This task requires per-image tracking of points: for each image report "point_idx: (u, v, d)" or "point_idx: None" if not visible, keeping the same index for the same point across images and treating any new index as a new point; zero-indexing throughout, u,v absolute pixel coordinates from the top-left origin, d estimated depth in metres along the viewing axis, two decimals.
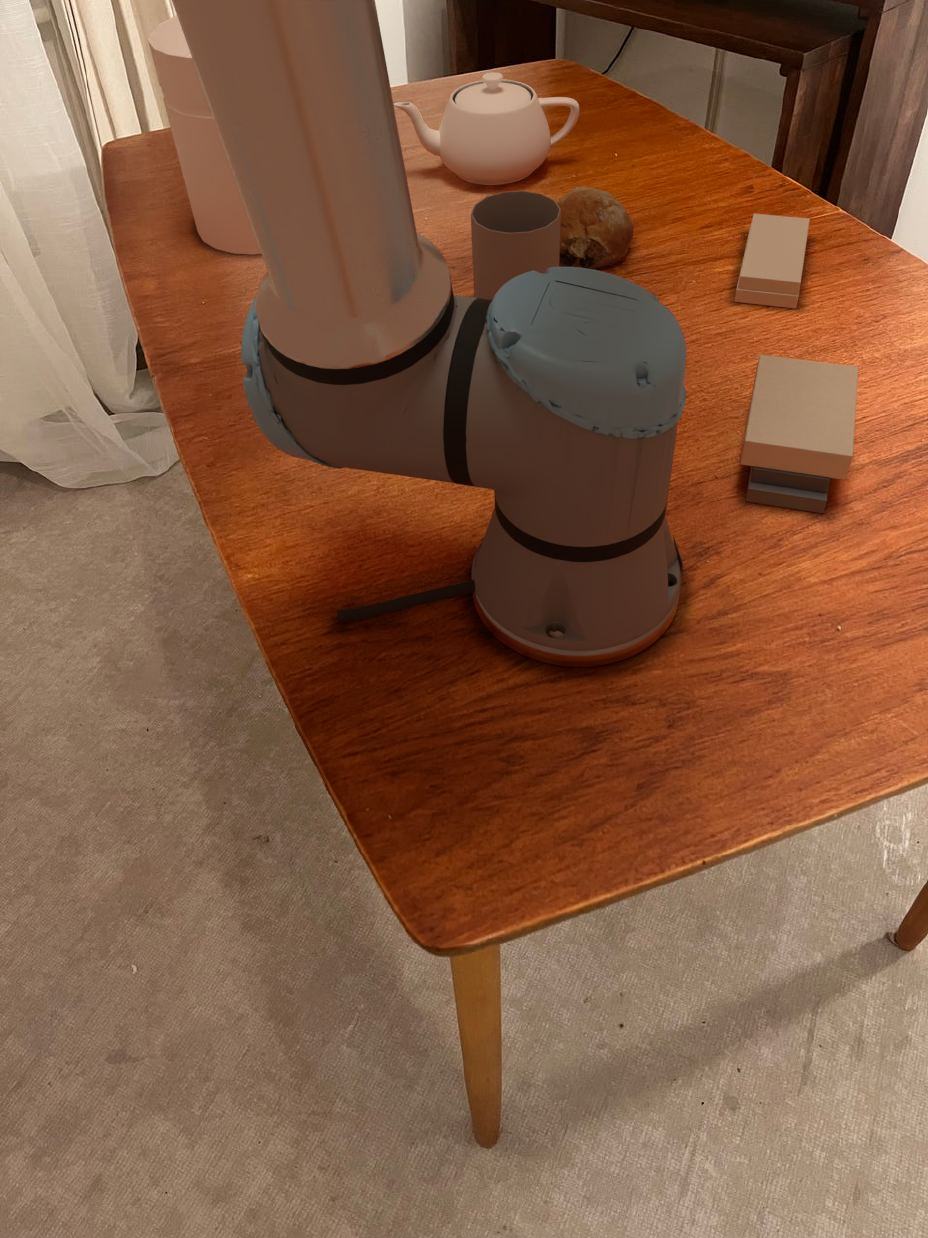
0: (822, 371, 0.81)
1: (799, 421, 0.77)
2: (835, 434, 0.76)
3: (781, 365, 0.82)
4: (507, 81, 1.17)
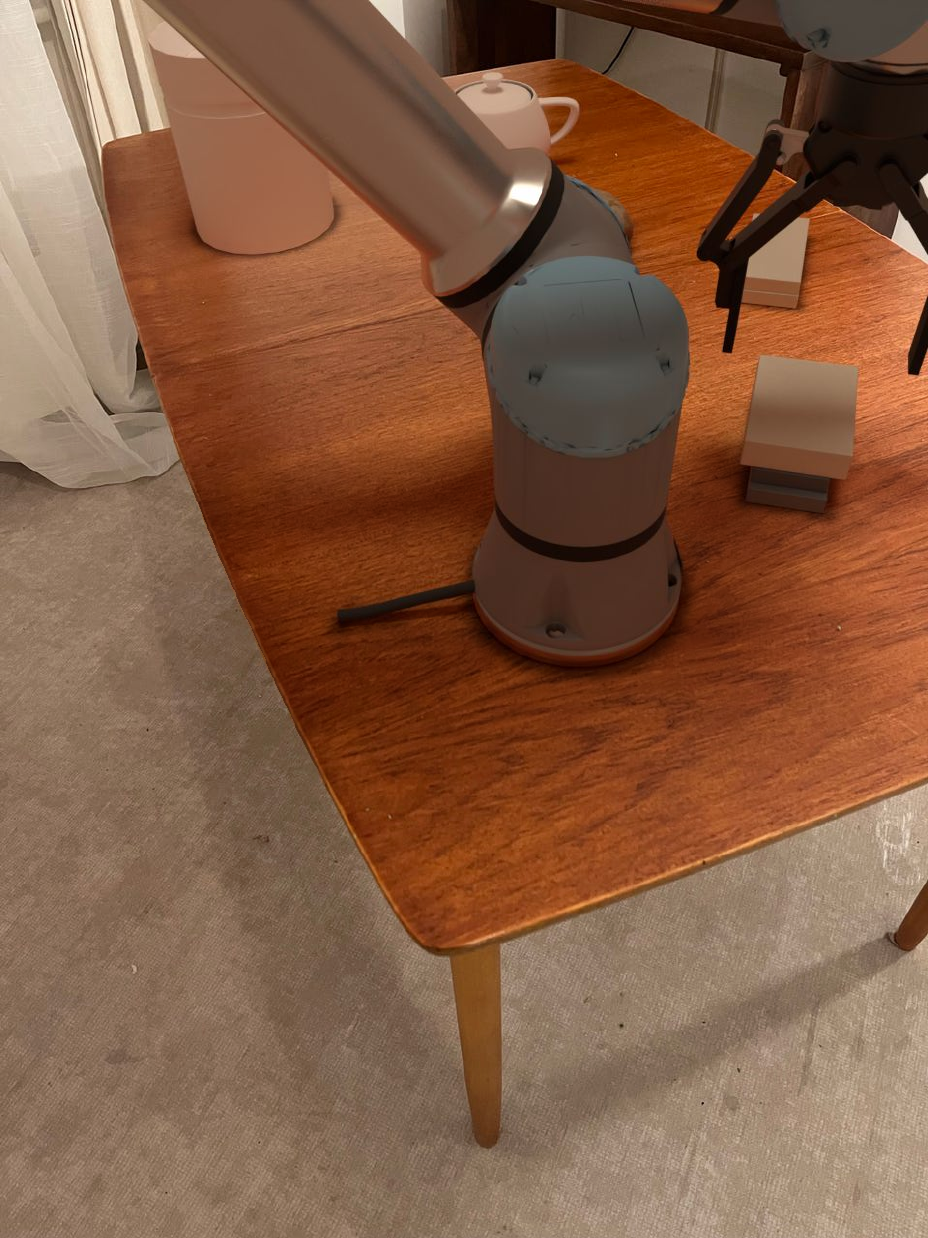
0: (822, 371, 0.81)
1: (799, 421, 0.77)
2: (835, 434, 0.76)
3: (781, 365, 0.82)
4: (507, 81, 1.17)
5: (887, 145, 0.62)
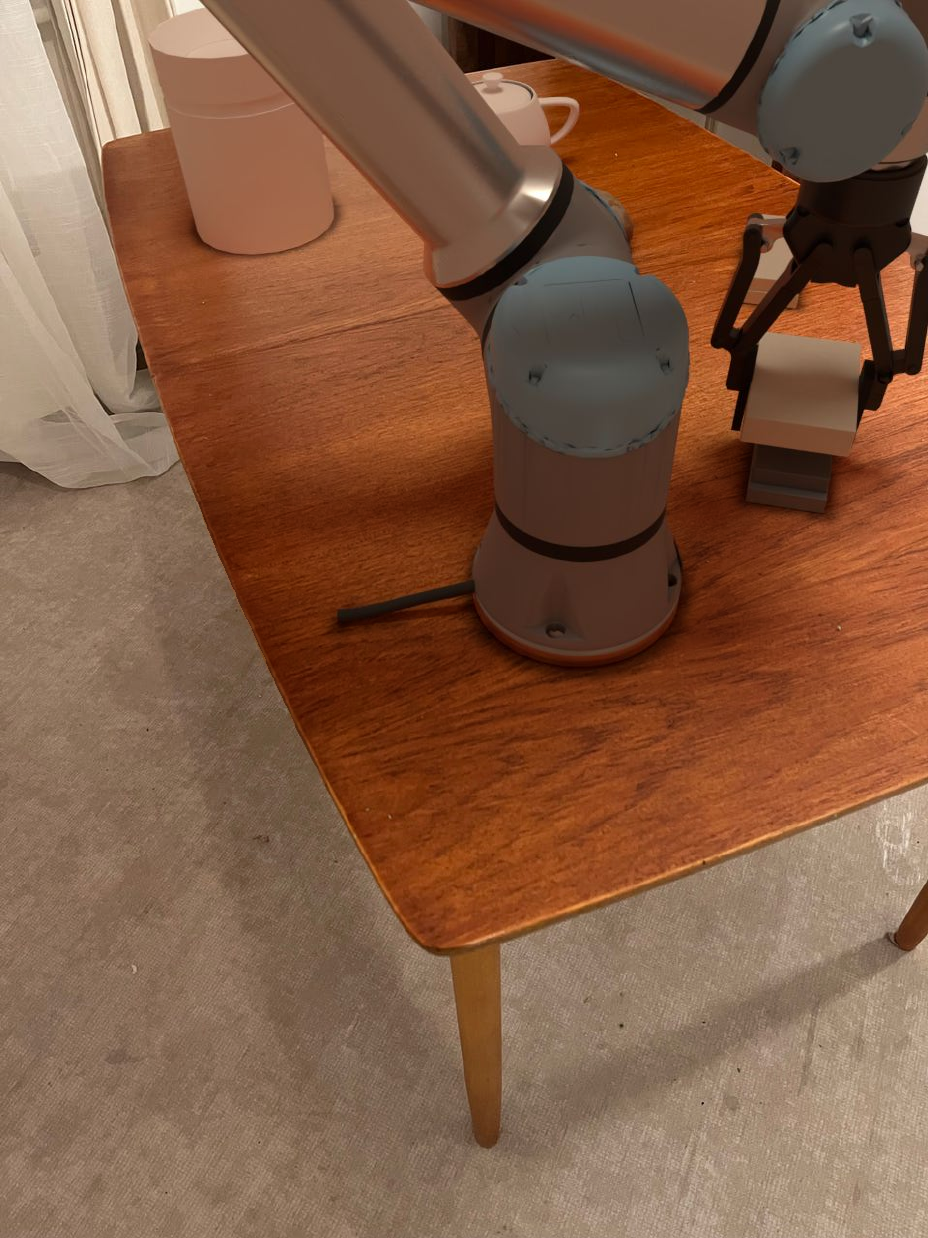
0: (824, 348, 0.79)
1: (801, 397, 0.75)
2: (838, 410, 0.74)
3: (782, 342, 0.80)
4: (507, 81, 1.17)
5: None
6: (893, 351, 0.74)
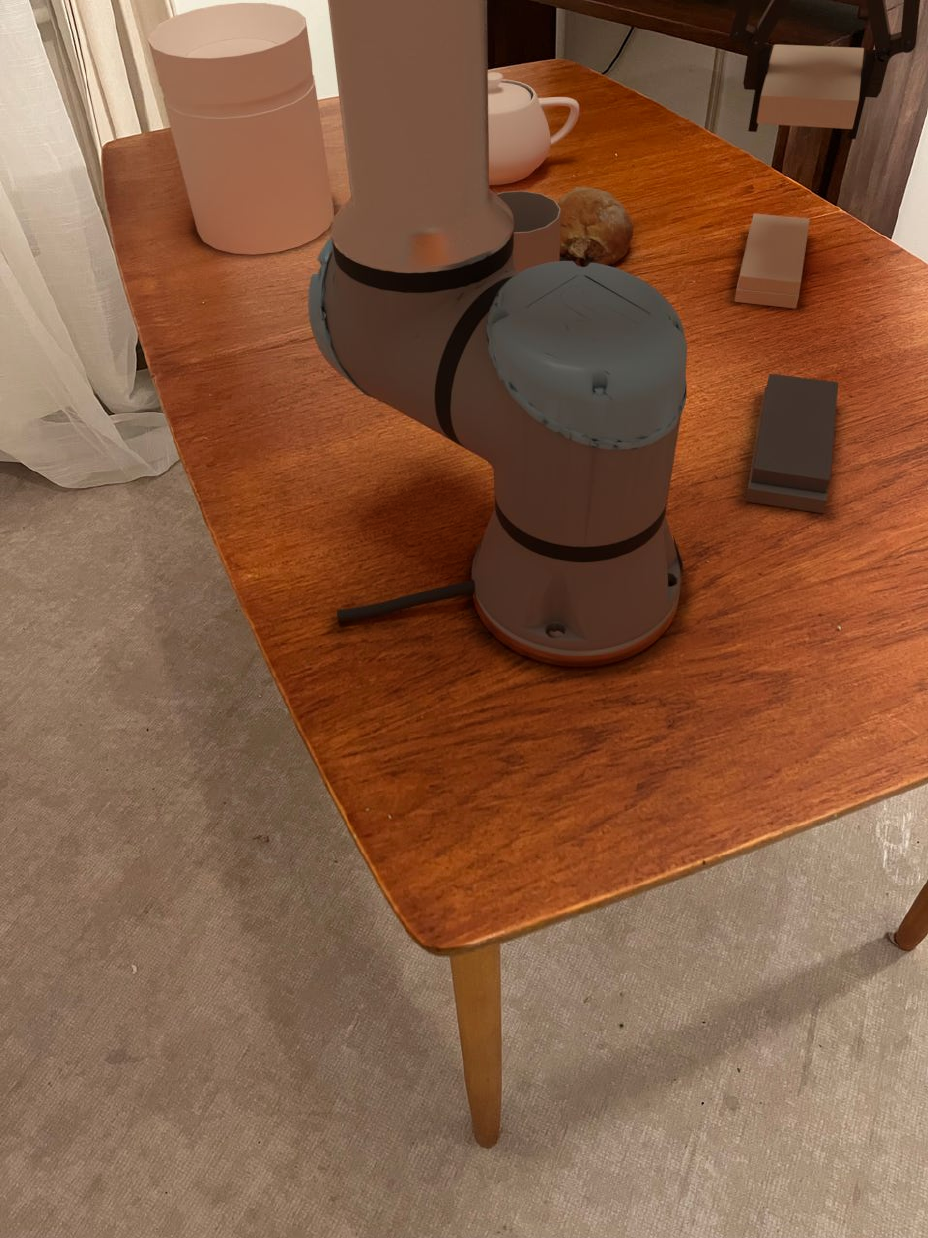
0: (831, 51, 0.89)
1: (810, 81, 0.85)
2: (843, 88, 0.84)
3: (793, 49, 0.90)
4: (507, 81, 1.17)
5: None
6: (891, 35, 0.84)
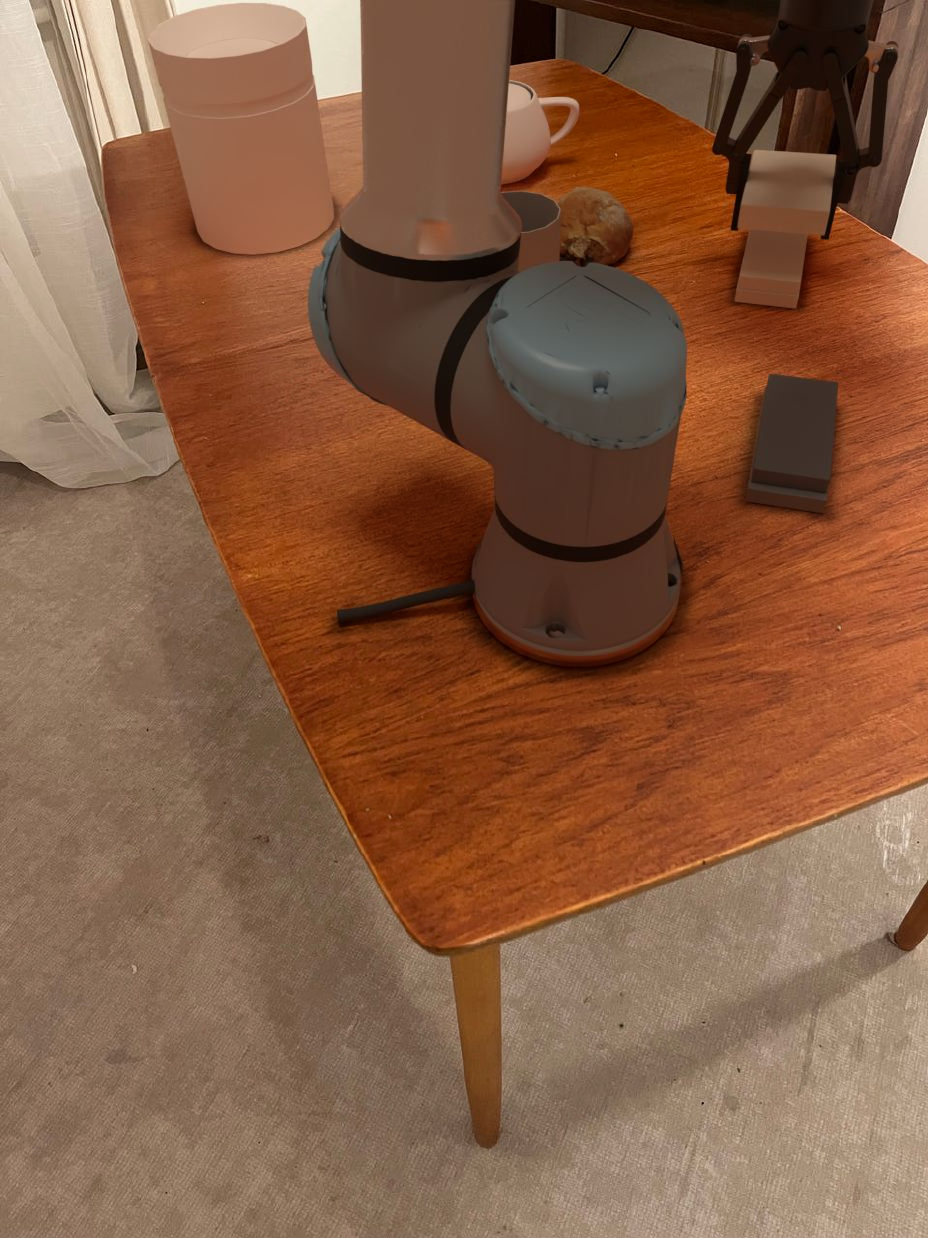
0: (806, 158, 0.97)
1: (786, 191, 0.93)
2: (815, 198, 0.92)
3: (771, 155, 0.98)
4: None
5: (834, 31, 0.84)
6: (859, 149, 0.92)
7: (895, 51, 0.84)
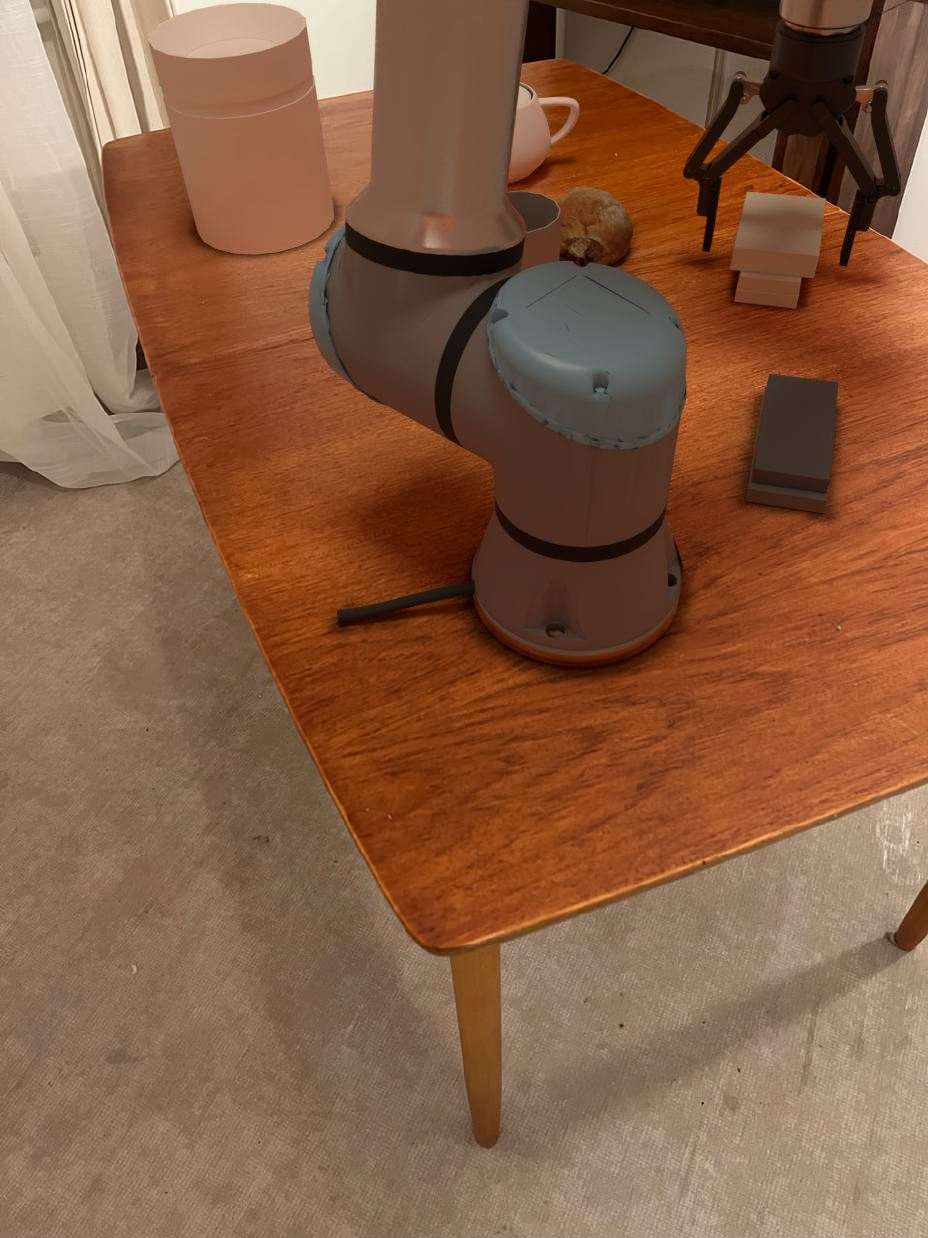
0: (797, 201, 1.01)
1: (777, 234, 0.96)
2: (805, 242, 0.95)
3: (764, 198, 1.01)
4: None
5: (818, 88, 0.87)
6: (876, 178, 0.93)
7: (883, 89, 0.86)
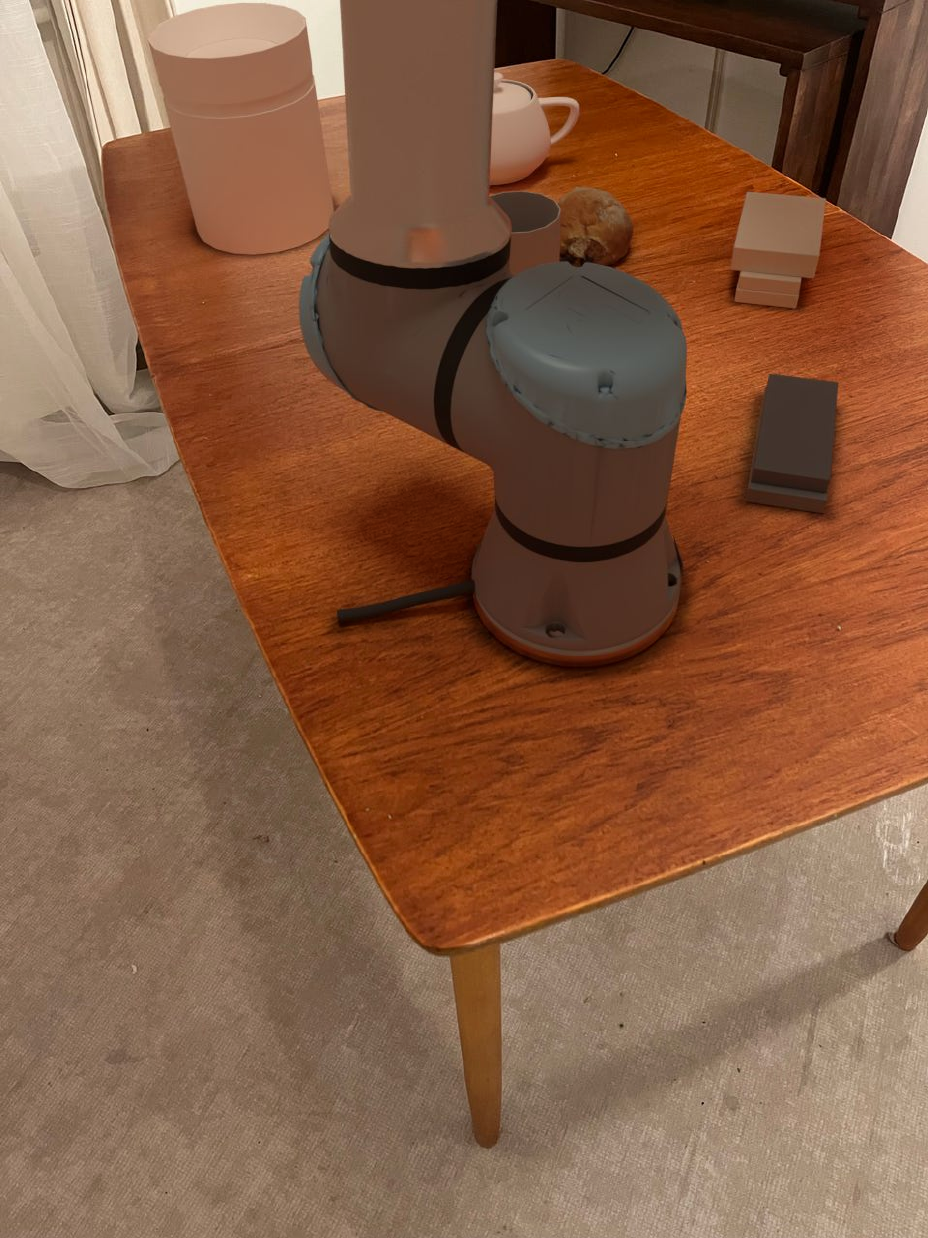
0: (797, 201, 1.01)
1: (777, 234, 0.96)
2: (805, 242, 0.95)
3: (764, 198, 1.01)
4: (507, 81, 1.17)
5: None
6: None
7: None
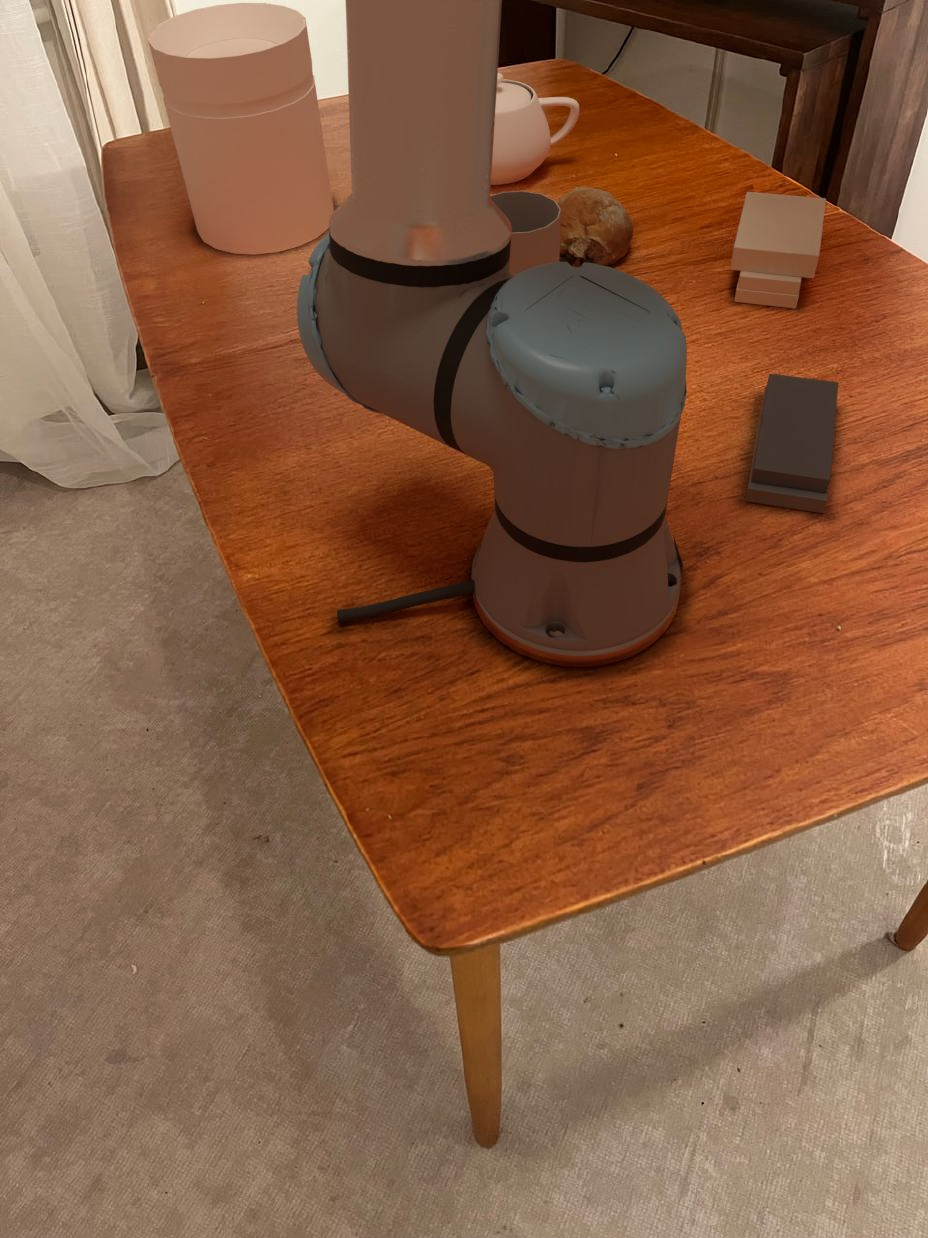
0: (797, 201, 1.01)
1: (777, 234, 0.96)
2: (805, 242, 0.95)
3: (764, 198, 1.01)
4: (507, 81, 1.17)
5: None
6: None
7: None
